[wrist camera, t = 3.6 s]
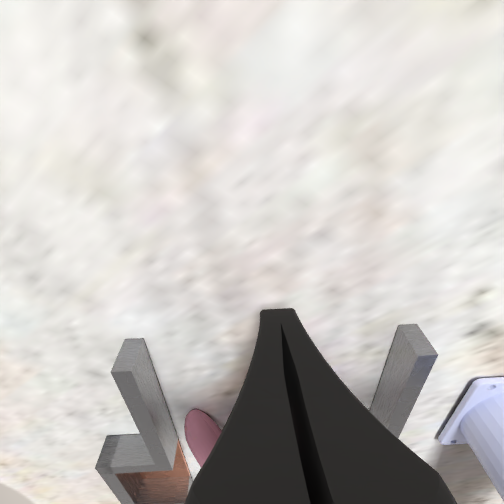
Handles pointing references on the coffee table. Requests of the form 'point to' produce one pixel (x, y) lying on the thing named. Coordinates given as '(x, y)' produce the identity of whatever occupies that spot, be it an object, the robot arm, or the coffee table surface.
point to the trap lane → (165, 438)
